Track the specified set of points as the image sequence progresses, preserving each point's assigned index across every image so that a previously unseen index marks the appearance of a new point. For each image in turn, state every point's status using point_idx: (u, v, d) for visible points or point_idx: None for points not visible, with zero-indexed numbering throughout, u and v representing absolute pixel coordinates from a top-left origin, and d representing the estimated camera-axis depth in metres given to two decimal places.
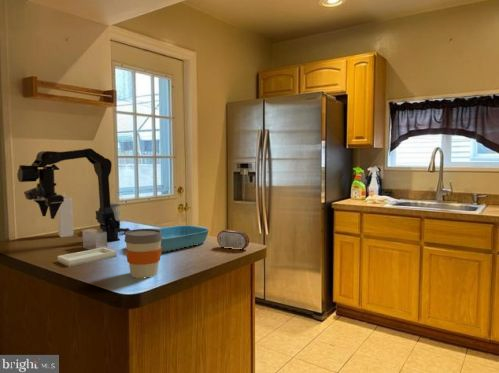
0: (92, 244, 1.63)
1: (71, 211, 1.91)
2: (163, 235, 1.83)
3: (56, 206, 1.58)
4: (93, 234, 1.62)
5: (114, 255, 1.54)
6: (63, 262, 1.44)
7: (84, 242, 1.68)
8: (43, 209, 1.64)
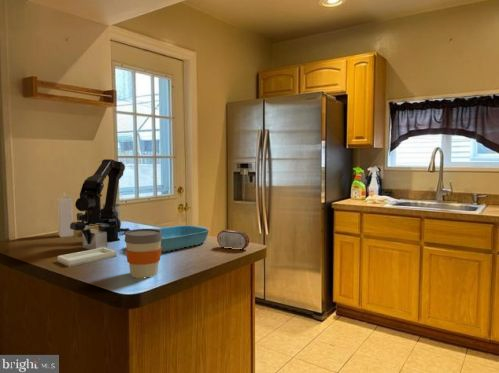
0: (92, 244, 1.63)
1: (71, 211, 1.91)
2: (164, 235, 1.83)
3: None
4: (93, 234, 1.62)
5: (114, 255, 1.54)
6: (63, 262, 1.44)
7: (84, 242, 1.68)
8: None
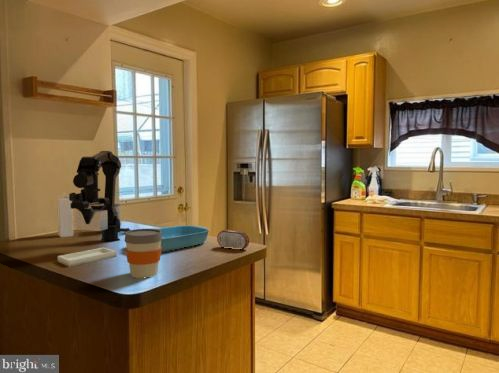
0: (94, 223, 1.58)
1: (71, 211, 1.91)
2: (164, 235, 1.83)
3: (87, 212, 1.56)
4: (96, 212, 1.57)
5: (114, 255, 1.54)
6: (63, 262, 1.44)
7: (78, 223, 1.60)
8: None
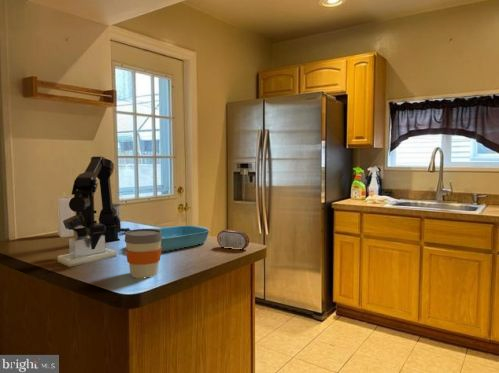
0: (98, 249, 1.52)
1: (71, 211, 1.91)
2: (165, 235, 1.83)
3: (97, 235, 1.47)
4: (100, 237, 1.52)
5: (114, 255, 1.54)
6: (63, 262, 1.44)
7: (79, 253, 1.46)
8: None
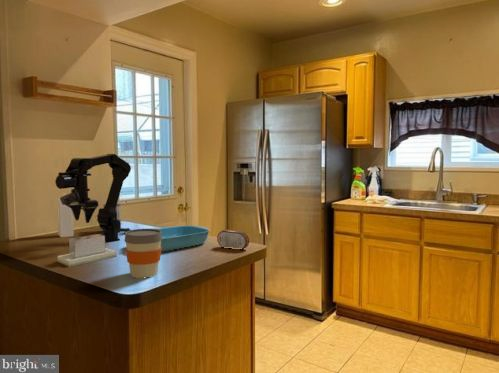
0: (98, 249, 1.52)
1: (71, 211, 1.91)
2: (165, 235, 1.83)
3: (91, 210, 1.65)
4: (100, 237, 1.52)
5: (114, 255, 1.54)
6: (63, 262, 1.44)
7: (79, 253, 1.46)
8: (76, 213, 1.71)
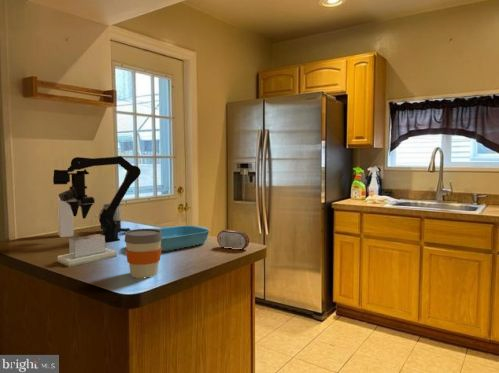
0: (98, 249, 1.52)
1: (71, 211, 1.91)
2: (165, 235, 1.83)
3: (87, 207, 1.74)
4: (100, 237, 1.52)
5: (114, 255, 1.54)
6: (63, 262, 1.44)
7: (79, 253, 1.46)
8: (74, 210, 1.80)
